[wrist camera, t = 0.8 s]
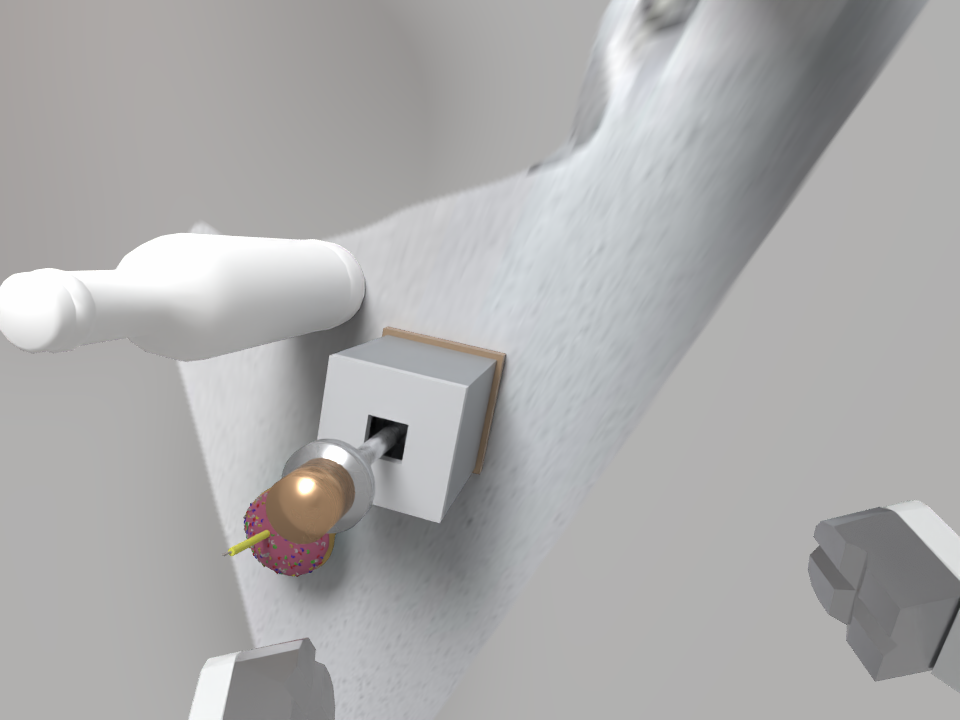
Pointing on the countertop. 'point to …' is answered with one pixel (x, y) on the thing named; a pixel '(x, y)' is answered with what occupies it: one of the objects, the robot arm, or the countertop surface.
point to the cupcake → (280, 544)
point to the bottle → (187, 297)
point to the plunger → (331, 483)
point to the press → (415, 413)
